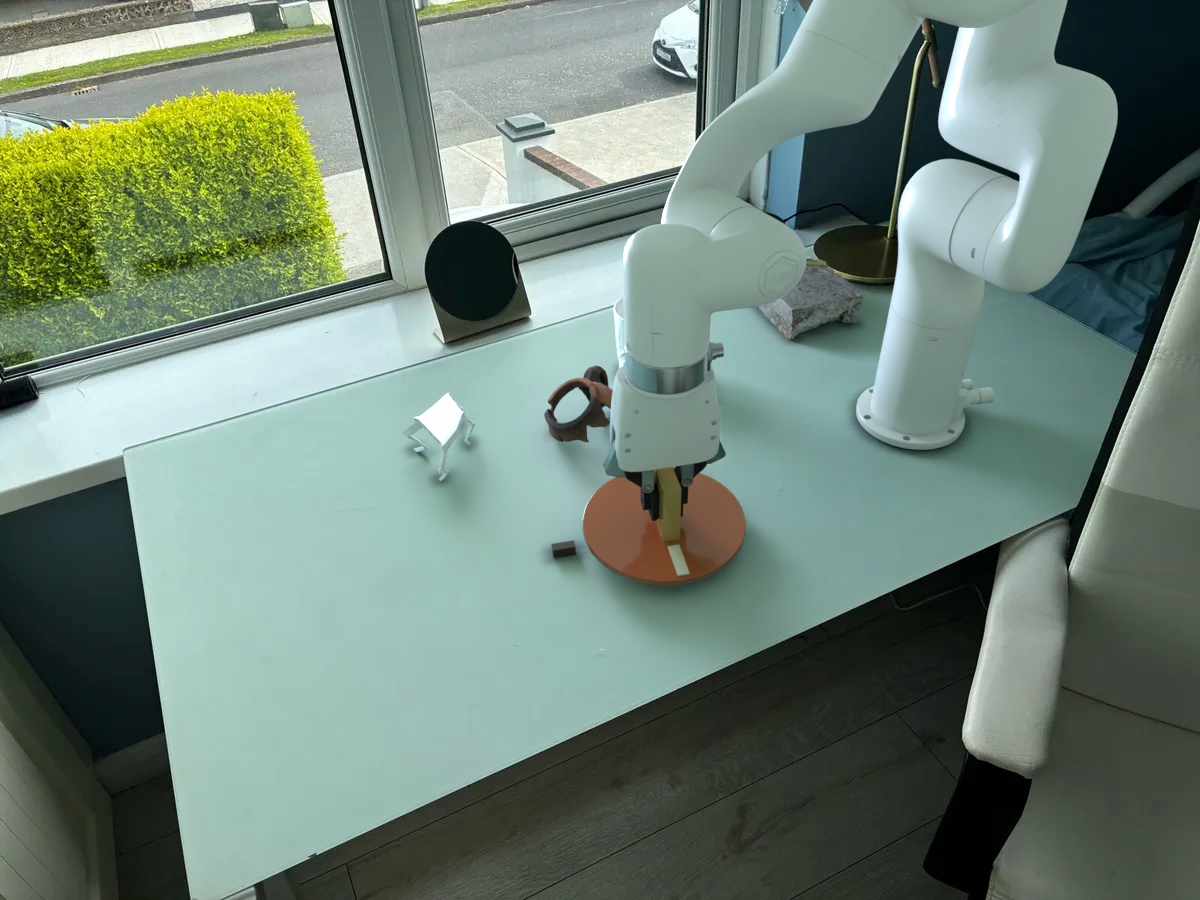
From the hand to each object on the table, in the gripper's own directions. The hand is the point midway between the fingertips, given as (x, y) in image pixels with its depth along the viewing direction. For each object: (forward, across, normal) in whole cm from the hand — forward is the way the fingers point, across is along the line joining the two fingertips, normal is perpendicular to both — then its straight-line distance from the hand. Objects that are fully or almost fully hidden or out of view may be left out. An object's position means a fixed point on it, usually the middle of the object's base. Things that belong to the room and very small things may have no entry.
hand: (663, 508), depth 93 cm
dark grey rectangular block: (+4, +3, 0) cm, 5 cm away
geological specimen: (+4, -30, -40) cm, 50 cm away
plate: (+2, 0, 0) cm, 2 cm away
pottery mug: (+4, +4, -20) cm, 21 cm away
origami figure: (+4, +22, -19) cm, 29 cm away
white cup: (+4, -5, -30) cm, 31 cm away
